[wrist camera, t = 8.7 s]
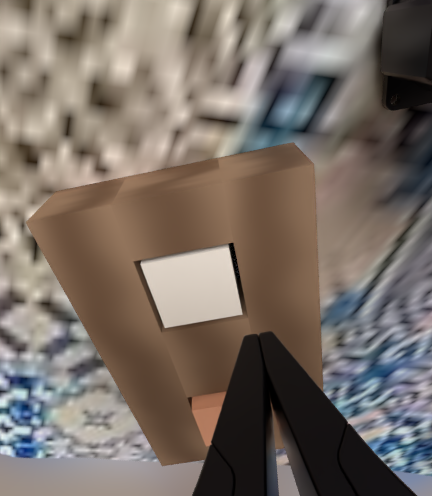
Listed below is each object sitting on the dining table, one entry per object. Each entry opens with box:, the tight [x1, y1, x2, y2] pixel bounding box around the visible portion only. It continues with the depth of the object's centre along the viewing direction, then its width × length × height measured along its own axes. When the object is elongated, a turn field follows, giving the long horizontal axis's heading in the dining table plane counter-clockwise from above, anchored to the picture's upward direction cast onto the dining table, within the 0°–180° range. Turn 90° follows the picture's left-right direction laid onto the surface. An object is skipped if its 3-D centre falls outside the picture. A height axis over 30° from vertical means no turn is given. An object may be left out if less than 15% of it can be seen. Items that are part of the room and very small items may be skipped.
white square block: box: [140, 243, 243, 328], centre depth 20 cm, size 5×5×4 cm
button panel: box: [26, 143, 323, 466], centre depth 24 cm, size 14×24×4 cm, turn 11°
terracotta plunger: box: [192, 391, 226, 446], centre depth 26 cm, size 5×5×4 cm
